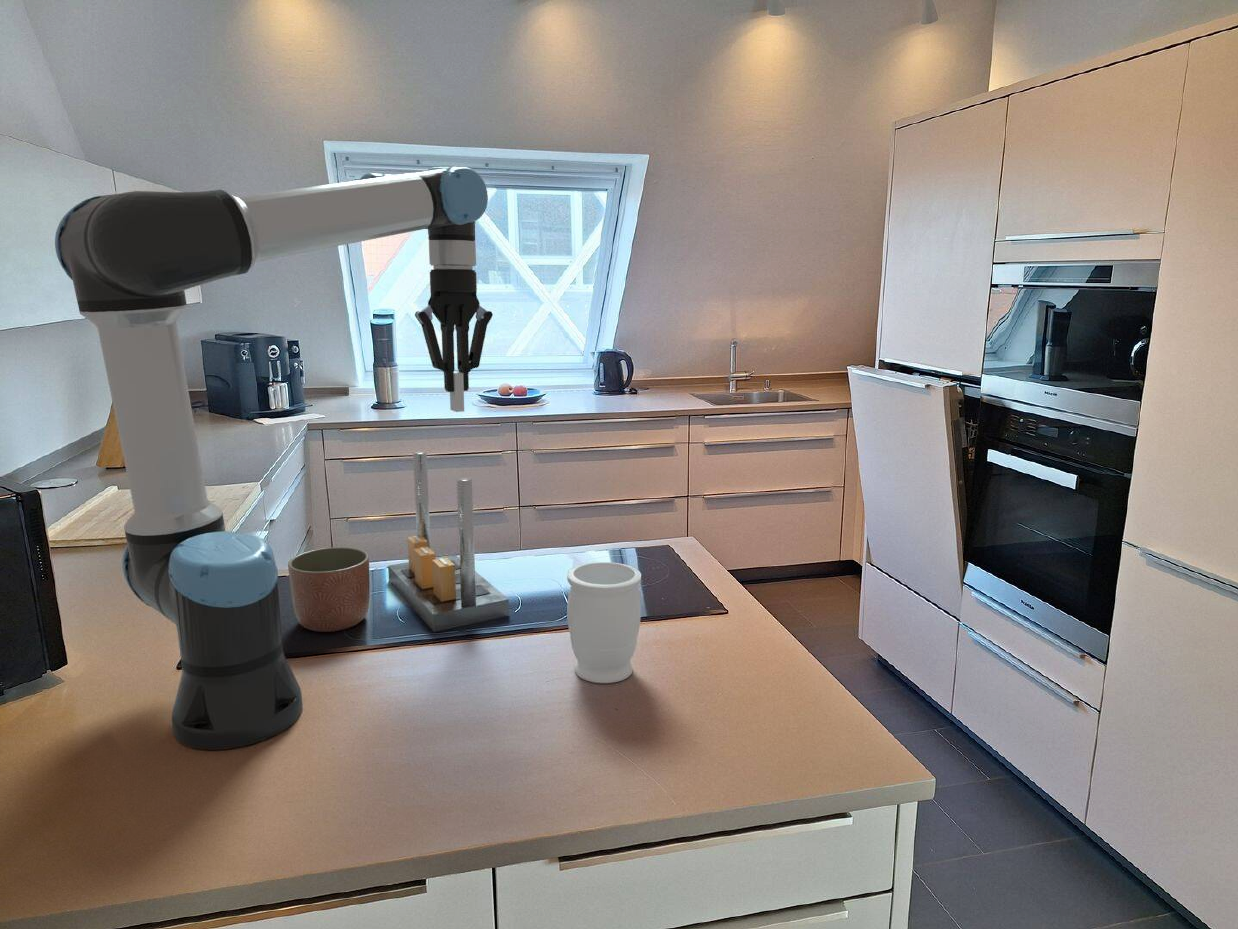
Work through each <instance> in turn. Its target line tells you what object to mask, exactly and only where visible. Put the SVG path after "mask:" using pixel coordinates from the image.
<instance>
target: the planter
mask: <svg viewBox="0 0 1238 929" xmlns="http://www.w3.org/2000/svg"><path fill="white" fill-rule="evenodd" d="M287 568H288V578H289V579H288V580H289V584H290V593H291V594H290V595H291V600H292V605H293V606H292V607H293V611H294V615H295V617H296V620H297V621H298V623H299V625H301V626H302V627H303V628H305V629H307V630H309V631H314V632H321V633H322V632H323V633H325V632H327V633H328V632H331V633H332V632H338V631H342V630H346V629H349V628H351V627H354V626H356V625H359V624H360V623H361V621H363V620H364V619H365V618H366V616H367V614H368V612H369V608H370V598H371V596H370V592H371V589H370V588H371V586H370V585H371V583H370V581H371V580H370V579H371V577H370V555H369V553H368V552H366V551H365V550H363V549H359V548H355V547H347V546H346V547H345V546H344V547H343V546H340V547H339V546H336V547H333V546H332V547H323V548H318V549H313V550H309V551H308V550H307V551H305V552H302V553H299V554H296V555H295V556H294V557H292V558H291V559H290V560H289V561H288V563H287Z"/></svg>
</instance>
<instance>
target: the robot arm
mask: <svg viewBox="0 0 1238 929" xmlns="http://www.w3.org/2000/svg"><path fill="white" fill-rule="evenodd" d="M488 201H489V194H488V189H487V185H486V183H485V181H484V179H483V178H482V176H481V175H480V174H479V173H478V172H477V171H476V170H474V169H473V168H470V167H465V166H460V167H458V166H450V167H449V166H434V167H431V168H428V169H427V170H426V171H419V172H418V171H417V172H410V173H403V174H387V173H385V172H380V173H373V172H370V173H369V172H368V173H365V174H363V175H362V176H361V177H360V178H359V179H358V180H352V181H351V180H350V181H344V182H337V183H336V182H335V183H328V184H322V185H315V186H314V185H313V186H308V187H300V188H291V189H284V190H277V191H270V192H262V193H255V194H254V193H253V194H249V195H248V194H247V195H239V196H234V195H233V193H231V192H229V191H228V190H226V189H213V190H205V191H182V192H181V191H180V192H179V191H177V192H173V191H147V190H146V191H144V190H134V191H127V192H121V193H114V194H113V193H112V194H105V195H95V196H93V197H90V198H86V199H85V200H82V201H80V202H79V203H77V204H76V205H75V206H73V207H72V208H71V209H69V210H68V211H67V212H66V213H65V215H64V216H63V217H62V218H61V220H60V221H59V223H58V225H57V228H56V231H55V235H54V236H55V237H54V248H55V249H54V250H55V254H56V257H57V259H58V262H59V264H60V265H61V268H62V269H63V271H64V272H65V274H66V276H68V278H69V279H70V280H71V281H72V284H73V288H74V294H75V298H76V302H77V306H78V312H79V314H80V316H83V317H84V318H85V319H87V320H88V321H89V322H91V323H92V324H94V325H95V326H96V328H97V332H98V337H99V340H100V347H101V352H102V356H103V357H102V358H103V362H104V366H105V372H106V377H107V381H108V387H109V392H110V395H111V400H112V408H113V411H114V416H115V421H116V422H115V423H116V425H117V431H118V435H119V441H120V445H121V451H122V455H123V461H124V465H125V470H126V475H127V476H126V477H127V480H128V487H129V490H130V495H131V499H132V505H133V511H134V512H133V514H132V515H131V516H130V517H129V518H128V520H127V521H126V522H125V523H124V524H123V529H124V530H123V531H124V533H125V540H126V543H127V544H126V546H125V548H124V551H123V555H122V562H121V563H122V564H121V566H122V567H121V568H122V574H123V577H124V580H125V581H126V583H127V585H128V587H129V589H130V591H132V593H133V594H134V595H135V596H136V598H137V599H139V600H140V601H141V602H142V603H144V604H145V605H147V606H148V607H151V608H152V609H154V610H155V611H157V612H158V613H159V614H161V616H163V617H165V618H166V619H168V620H169V621H170V622H172V623H173V624H174V625H175V627H176V631H177V638H178V648H179V654H180V655H179V657H180V662H181V664H180V665H181V676H180V680H179V684H178V688H177V692H176V695H175V696H176V697H175V700H174V704H173V707H172V712H171V724H172V725H171V726H172V732H173V736H174V738H175V740H176V741H177V742H179V743H180V744H182V745H184V746H186V747H188V748H193V749H197V750H204V751H205V750H206V751H208V750H209V751H218V750H228V749H235V748H237V749H238V748H239V747H241V748H242V747H245V746H250V745H253V744H257V743H259V742H262V741H265V740H267V739H270V738H271V737H274V736H276V735H277V734H279V733H282V732H283V731H285V730H286V729H288V728H289V727H291V726H292V725H293V724H294V723H295V722H296V721H297V720H298V719H299V717H300V716H301V714H302V712H303V708H304V707H303V696H302V689H301V687H300V684H299V683H298V680H297V678H296V677H295V676H296V675H295V674H294V672H293V670H292V668H291V666H290V664H289V662H288V660H287V658H286V655H285V652H284V648H283V646H284V645H283V633H282V623H281V622H282V619H281V609H280V607H281V606H280V598H279V597H280V596H279V586H278V585H279V584H278V576H279V570H278V566H277V564H276V560H275V554H274V551H273V549H272V547H271V545H270V544H269V543H268V542H267V541H266V540H264V538H261V537H259V536H258V535H257V536H256V535H254V534H251V533H248V532H242V533H237V532H236V531H227V530H226V526H225V519H224V515H223V509H222V508H221V507H220V506H218V505H216V504H214V503H213V502H212V501H210V500H209V499H208V497H207V489H206V483H205V478H204V472H203V467H202V466H203V465H202V462H201V456H200V449H199V445H198V438H197V433H196V427H195V421H194V416H193V409H192V403H191V397H190V392H189V387H188V381H187V375H186V371H185V370H186V369H185V364H184V359H183V354H182V348H181V341H180V335H179V330H178V324H177V321H178V318H179V317H181V315H182V314H183V313H184V311H185V310H186V309H187V308H188V305H187V299H186V293H185V291H186V290H189V289H192V288H194V287H199V286H201V285H205V284H209V283H212V282H214V281H215V282H216V281H219V280H222V279H227V278H230V277H235V276H238V275H239V276H240V275H244V274H248V273H250V272H251V271H252V269H253V267H254V265H255V264H256V263H259V262H264V261H268V260H269V261H270V260H273V259H279V258H283V257H289V256H294V255H295V256H296V255H300V254H304V253H309V252H314V251H319V250H324V249H329V248H330V249H331V248H335V247H339V246H346V245H351V244H355V243H356V244H357V243H361V242H365V241H371V240H376V239H380V238H385V237H390V236H391V237H392V236H396V235H400V234H406V233H411V232H416V231H423V230H427V235H428V238H427V239H428V254H429V257H428V258H429V265H430V266H432V267H433V269H430V271H429V287H430V288H429V290H430V291H429V292H430V296H429V299H428V301H427V306H426V307H424V308H422V310H417V311H416V312H414V313H415V314H414V317H415V318H416V320H417V322H418V323H419V324H420V326H421V329H422V332H423V335H424V336H423V337H424V339H425V343H426V346H427V350H428V353H429V354H428V355H429V357H430V362H431V365H432V368H434V369H436V370H439V371H442V373H443V378H444V379H443V381H444V382H443V383H444V384H443V385H444V386H443V387H444V390H445V392H448V393H449V404H450V406H449V407H450V411H452V412H455V413H457V412H458V413H459V412H460V413H461V412H462V413H463V412H465V393H464V392H467V391H469V389H470V385H469V384H470V383H469V380H470V379H469V374H470V372H471V370H473V369H477V368H479V367H480V363H481V359H482V353H483V349H484V348H483V347H484V343H485V337H486V333H487V328H488V325H489V323H490V321H491V320H492V318H493V316H494V315H493V312H492V311H490V310H486V309H485V308H483V307H482V306H481V305H480V304H481V303H480V300H479V299H478V297H477V293H478V292H477V290H478V289H477V287H478V286H477V285H478V284H477V272H476V270H475V269H474V268H473V267H476V265H477V252H476V250H477V249H476V247H477V246H476V221H478V220H479V219H480V218H481V217H482V216H483V215H484V214H485V213H486V210H487V207H488ZM433 315H434V317H435V318H436V319H437V320H438V322H439V323H440V330H441V348H440V345H439V341H438V337H437V335H436V330H435V326H434V324H433V322H432V321H433V318H434V317H433ZM474 315H475V316H474ZM474 317H475V319H476V321H475V323H474V328H473V334H472V339H471V343H470V342H469V341H470V340H469V331H470V322H471V320H472V319H473V318H474ZM455 331H456V356H457V357H456V359H457V360H456V361H457V362H456V363H457V371H456V370H455V341H454V340H455V339H454V338H455V337H454V332H455ZM469 343H470V346H469ZM441 352H442V353H441Z"/></svg>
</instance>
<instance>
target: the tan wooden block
mask: <svg viewBox="0 0 1238 929" xmlns="http://www.w3.org/2000/svg"><path fill="white" fill-rule="evenodd" d="M422 547H423V548H424V547H428V541H427V540H426V539H425V538H423V537H422V536H421V535H420V536H417V535H413V536H408V537H407V555H408V557H407V558H408V562H409V569H410V570H411V571H412V572H413V573H414V574H415V565H414V549H418V548H422Z"/></svg>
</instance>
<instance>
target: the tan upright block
mask: <svg viewBox="0 0 1238 929" xmlns="http://www.w3.org/2000/svg"><path fill="white" fill-rule="evenodd" d="M435 558H436V552H434V551H433V550H432V549H430V548H428V547H424V548H423V547H422V548H418V549H414V565H415V582H416V583H417V584H418V585H419V586H420V587H421V588H422V589H425V588H431V587H433V566H432V560H435Z"/></svg>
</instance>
